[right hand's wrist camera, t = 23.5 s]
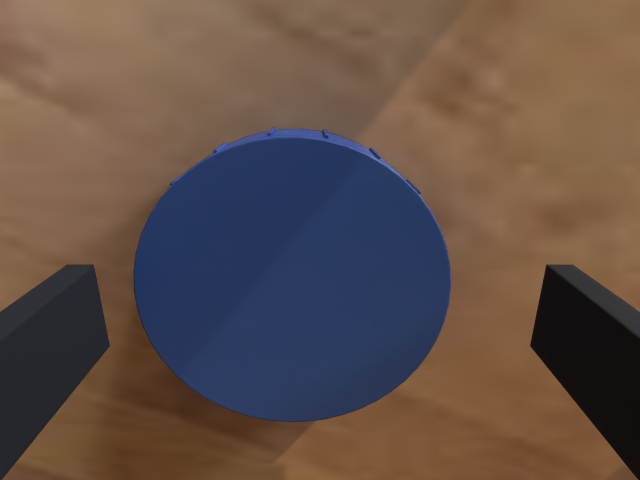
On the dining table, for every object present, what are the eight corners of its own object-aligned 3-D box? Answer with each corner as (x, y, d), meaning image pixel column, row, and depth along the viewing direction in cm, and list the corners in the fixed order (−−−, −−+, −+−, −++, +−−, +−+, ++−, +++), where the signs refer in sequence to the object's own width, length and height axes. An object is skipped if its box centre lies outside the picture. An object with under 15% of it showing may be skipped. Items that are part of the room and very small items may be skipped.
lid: (204, 401, 17) (189, 446, 15) (113, 162, 14) (77, 176, 12) (445, 356, 16) (465, 395, 14) (412, 96, 13) (432, 98, 11)
